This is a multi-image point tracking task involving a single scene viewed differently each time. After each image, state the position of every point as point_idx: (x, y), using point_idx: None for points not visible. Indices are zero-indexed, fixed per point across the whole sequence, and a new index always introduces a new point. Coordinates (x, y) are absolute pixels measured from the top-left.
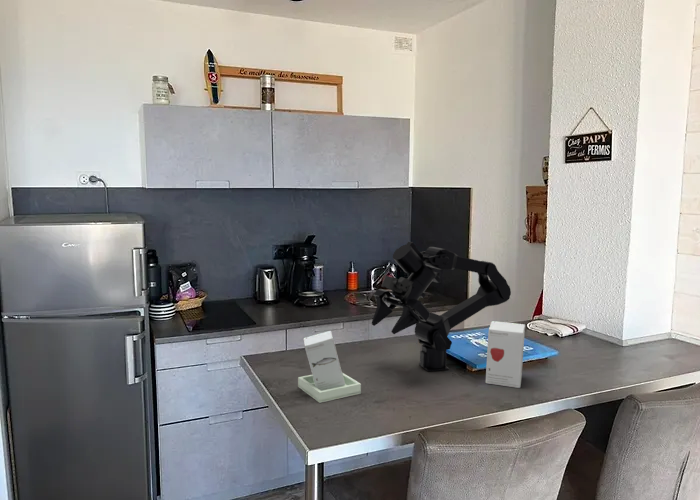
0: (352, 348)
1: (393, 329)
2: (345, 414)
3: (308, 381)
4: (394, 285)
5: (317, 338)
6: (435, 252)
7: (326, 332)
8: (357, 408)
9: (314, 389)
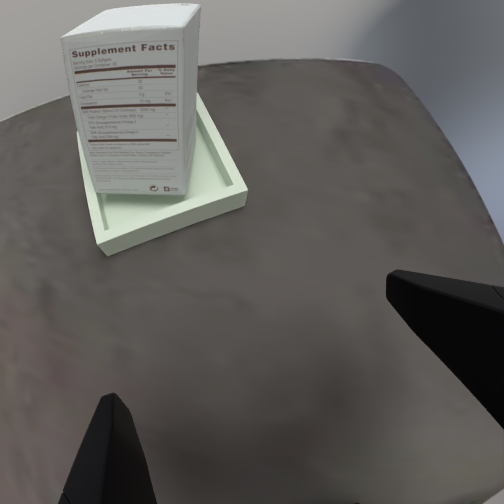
0: None
1: (97, 411)
2: (13, 199)
3: (198, 121)
4: None
5: (124, 13)
6: None
7: (168, 20)
8: (26, 230)
9: None
